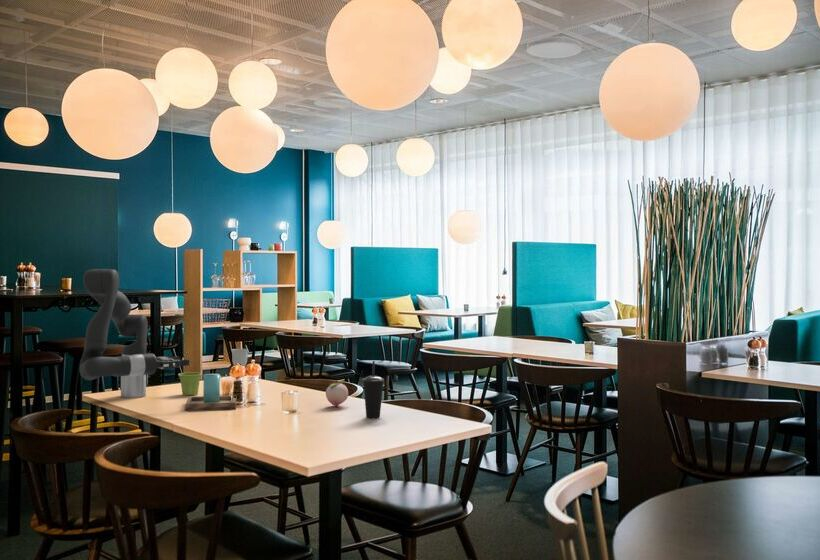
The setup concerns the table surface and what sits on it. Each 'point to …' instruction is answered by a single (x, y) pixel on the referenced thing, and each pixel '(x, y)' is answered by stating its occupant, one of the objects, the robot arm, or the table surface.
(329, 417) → the table surface
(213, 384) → the teal tumbler
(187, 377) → the plant pot
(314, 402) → the table surface
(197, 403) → the walnut tray
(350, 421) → the table surface
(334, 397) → the decorative fruit
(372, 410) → the drinking cup
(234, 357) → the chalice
